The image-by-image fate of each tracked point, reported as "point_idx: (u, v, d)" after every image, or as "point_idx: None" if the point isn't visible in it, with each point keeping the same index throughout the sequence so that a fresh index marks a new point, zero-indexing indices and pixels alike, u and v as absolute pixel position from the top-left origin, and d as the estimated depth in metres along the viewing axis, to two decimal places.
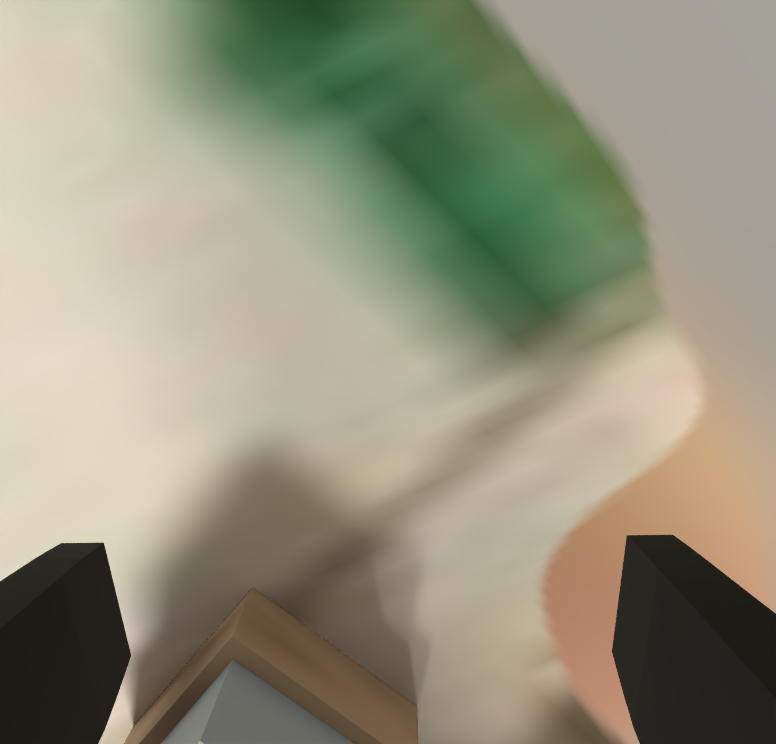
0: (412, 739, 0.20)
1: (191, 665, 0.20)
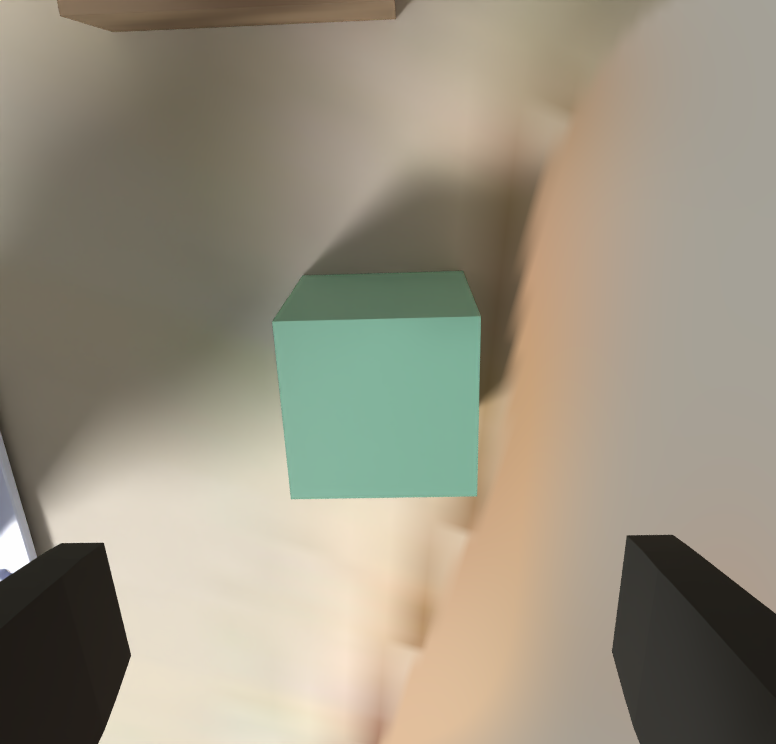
0: None
1: None
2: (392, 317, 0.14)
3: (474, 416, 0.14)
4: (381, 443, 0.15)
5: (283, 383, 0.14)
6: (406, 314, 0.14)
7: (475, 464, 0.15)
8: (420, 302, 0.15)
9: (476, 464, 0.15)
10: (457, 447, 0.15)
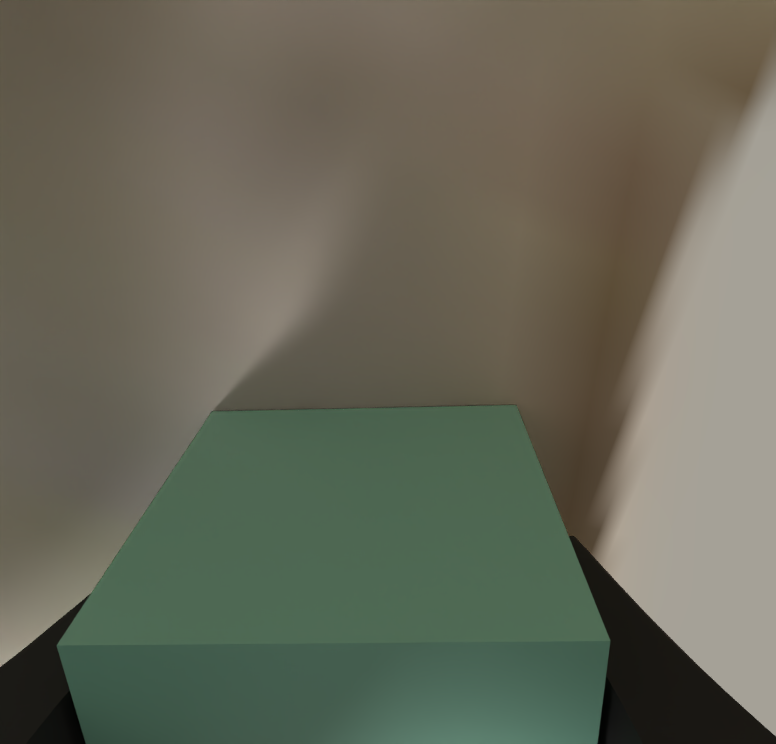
0: None
1: None
2: (374, 637, 0.05)
3: None
4: None
5: None
6: (410, 615, 0.05)
7: None
8: (442, 546, 0.06)
9: None
10: None
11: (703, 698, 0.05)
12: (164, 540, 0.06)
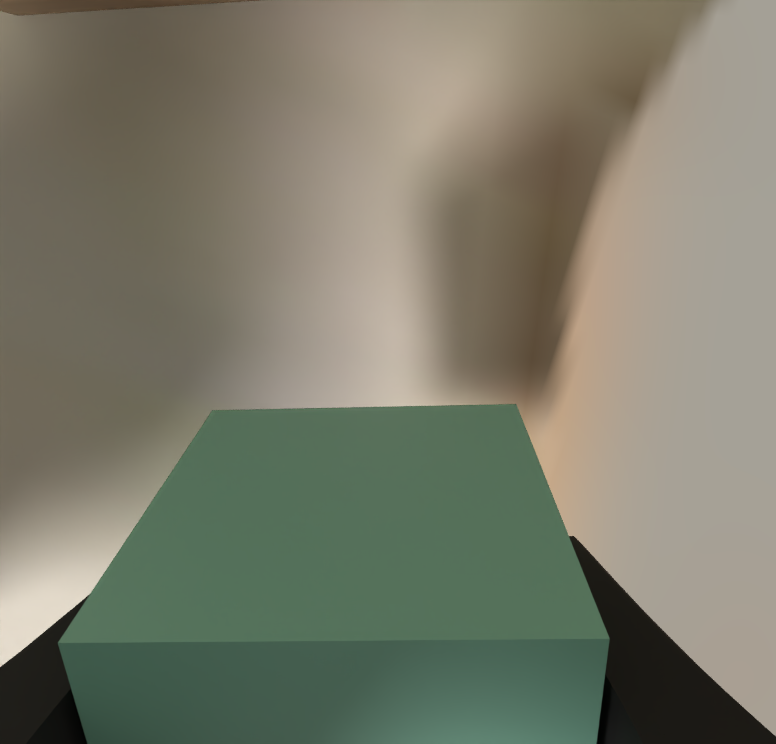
0: None
1: None
2: (374, 633, 0.05)
3: None
4: None
5: None
6: (410, 613, 0.05)
7: None
8: (442, 543, 0.06)
9: None
10: None
11: (703, 698, 0.05)
12: (165, 538, 0.06)
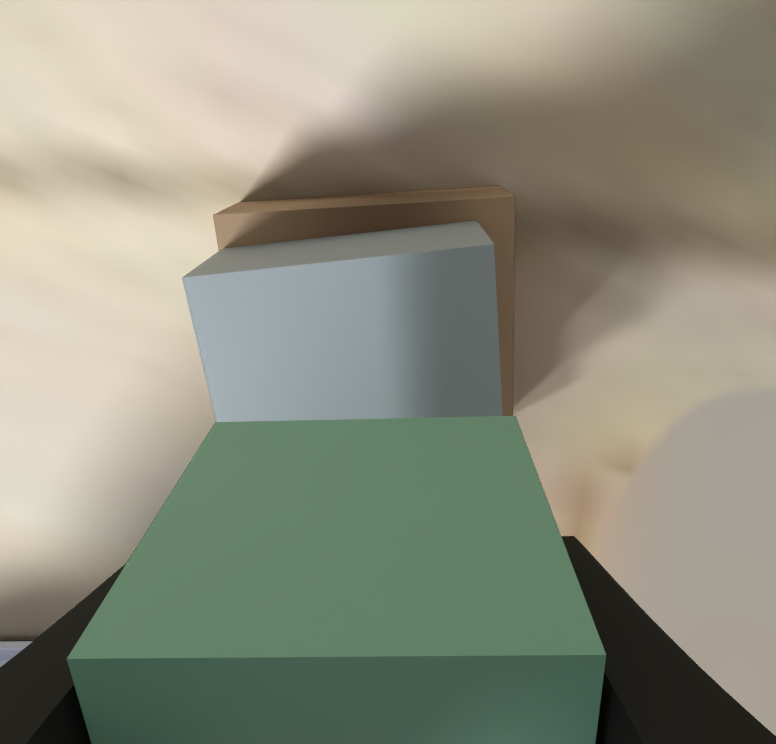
0: None
1: (385, 195, 0.16)
2: (376, 649, 0.05)
3: None
4: None
5: None
6: (410, 628, 0.05)
7: None
8: (442, 558, 0.06)
9: None
10: None
11: (703, 698, 0.05)
12: (170, 553, 0.07)
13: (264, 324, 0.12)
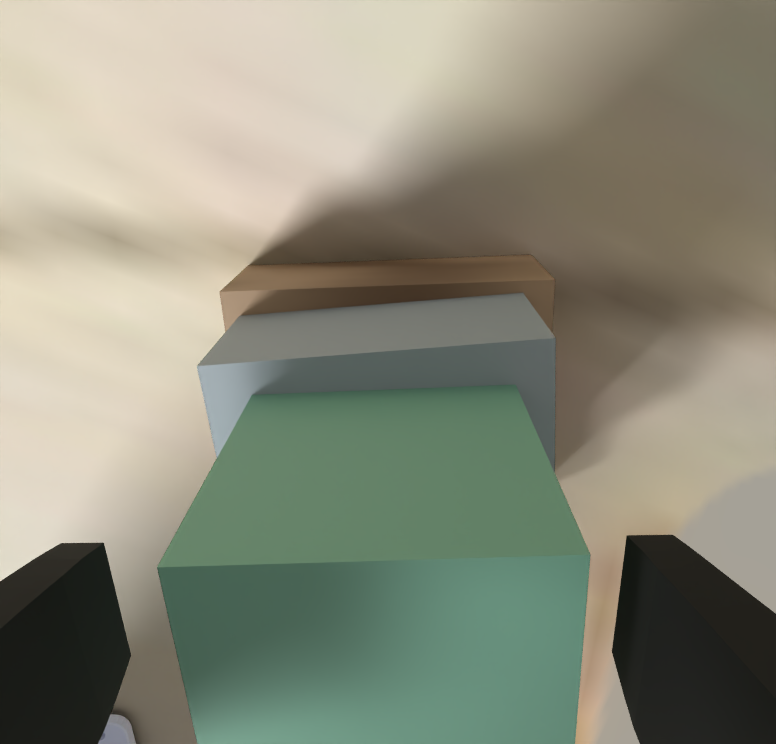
0: None
1: (408, 266, 0.15)
2: (406, 555, 0.07)
3: (568, 722, 0.07)
4: None
5: (190, 672, 0.07)
6: (433, 541, 0.07)
7: None
8: (456, 492, 0.08)
9: None
10: None
11: None
12: (228, 493, 0.08)
13: None
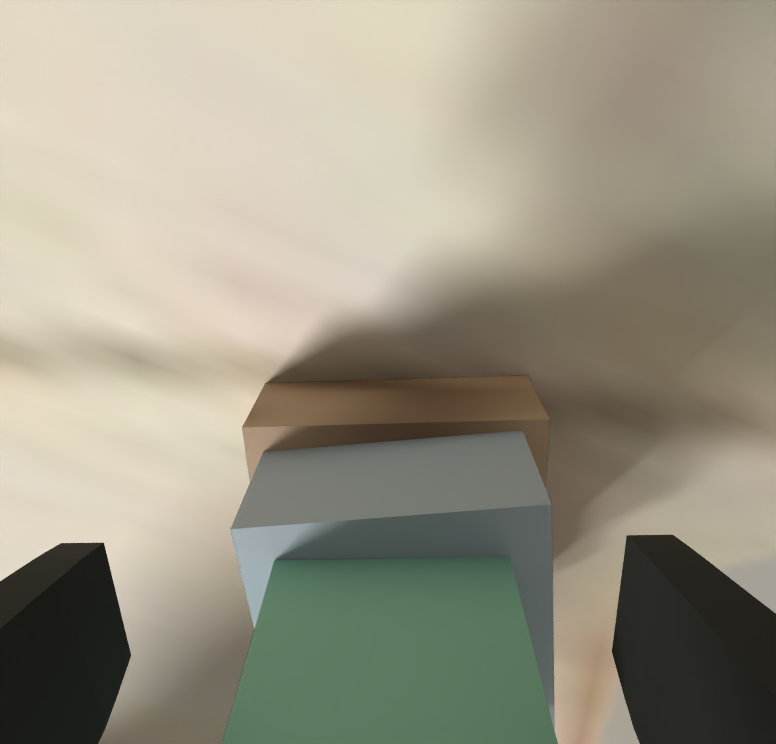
0: None
1: (414, 391, 0.16)
2: None
3: None
4: None
5: None
6: None
7: None
8: (458, 703, 0.09)
9: None
10: None
11: None
12: (262, 697, 0.09)
13: None
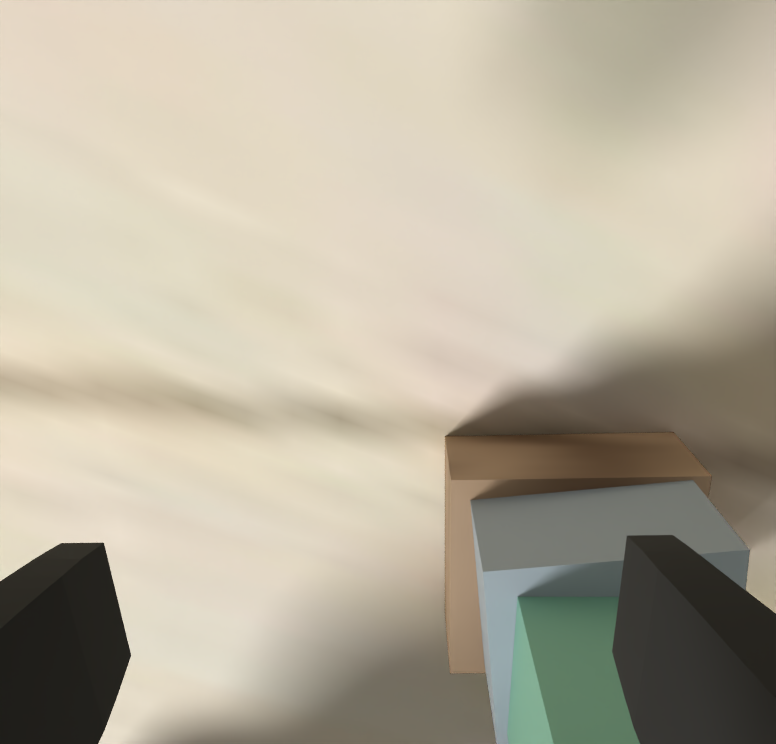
0: None
1: (581, 446, 0.19)
2: None
3: None
4: None
5: None
6: None
7: None
8: None
9: None
10: None
11: None
12: (567, 712, 0.12)
13: None
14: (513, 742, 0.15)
